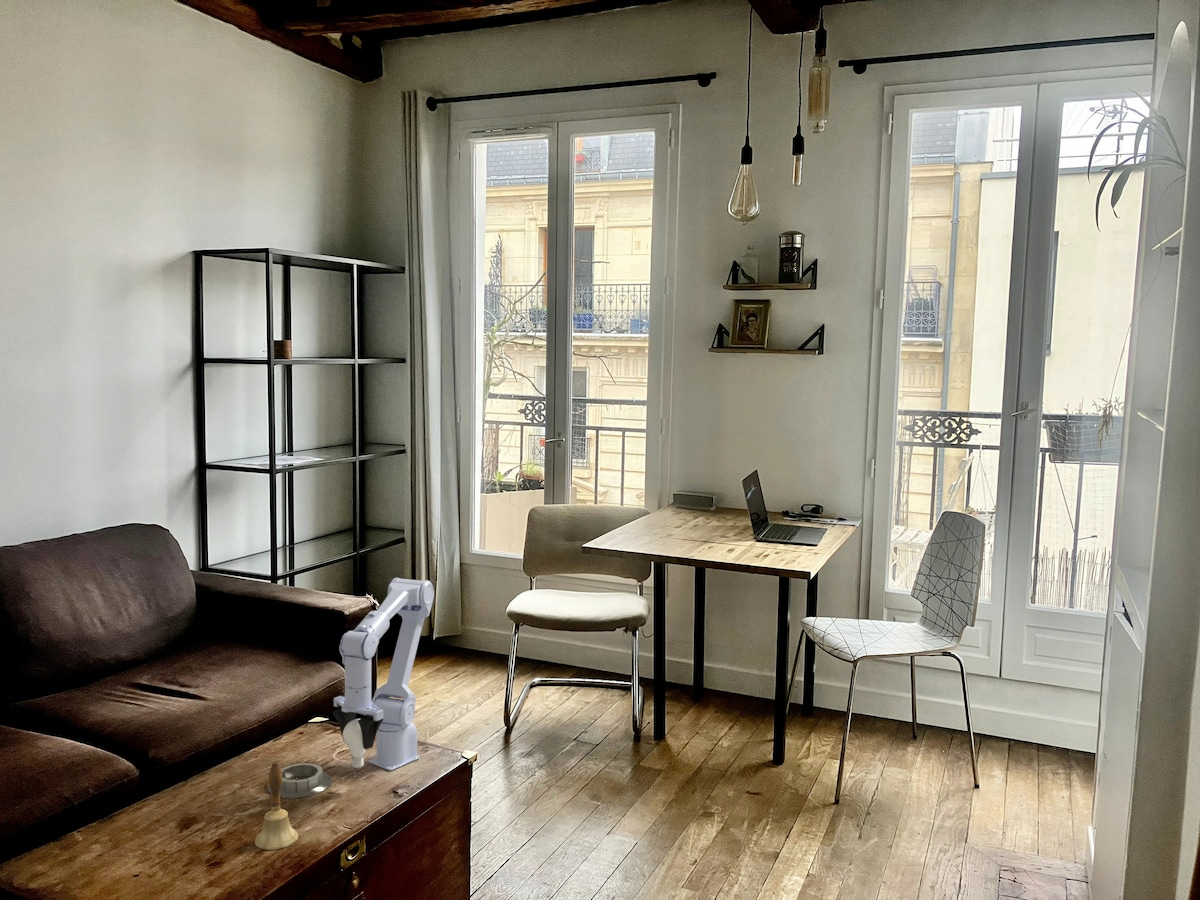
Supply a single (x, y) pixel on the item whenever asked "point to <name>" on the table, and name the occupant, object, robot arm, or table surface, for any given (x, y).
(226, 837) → the table surface
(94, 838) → the table surface
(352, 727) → the lightbulb
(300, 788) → the lamp base
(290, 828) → the hand bell
